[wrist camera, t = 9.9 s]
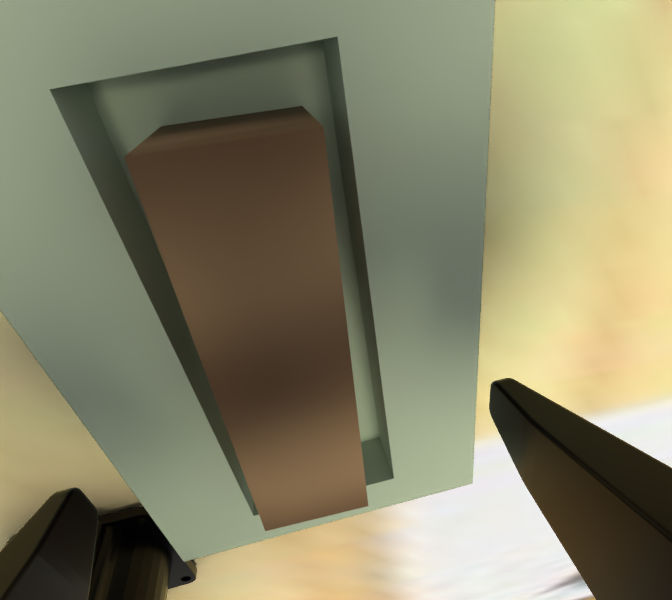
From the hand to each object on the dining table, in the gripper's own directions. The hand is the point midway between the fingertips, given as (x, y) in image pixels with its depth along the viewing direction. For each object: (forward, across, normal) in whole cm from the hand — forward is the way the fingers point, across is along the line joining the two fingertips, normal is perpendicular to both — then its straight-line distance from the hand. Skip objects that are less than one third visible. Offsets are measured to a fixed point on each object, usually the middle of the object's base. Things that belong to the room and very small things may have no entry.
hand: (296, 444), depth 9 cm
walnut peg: (+5, 0, 0) cm, 5 cm away
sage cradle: (+6, 0, 0) cm, 6 cm away
